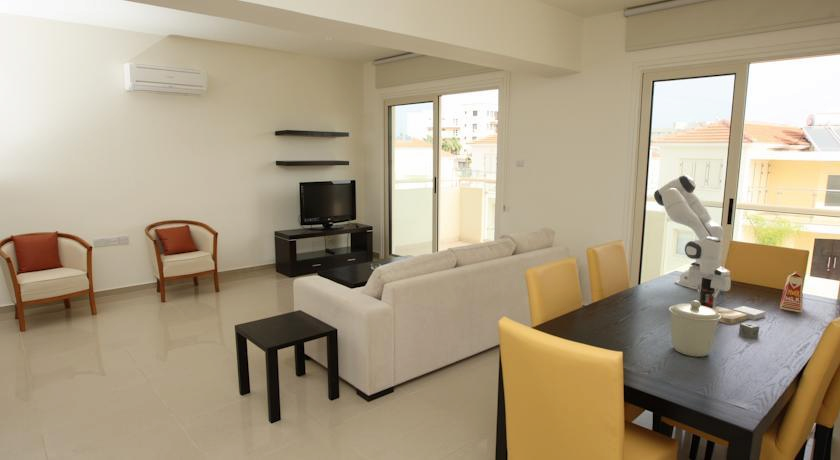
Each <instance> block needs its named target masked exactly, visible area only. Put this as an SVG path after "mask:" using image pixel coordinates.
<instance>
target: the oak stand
mask: <svg viewBox="0 0 840 460" xmlns="http://www.w3.org/2000/svg"><path fill="white" fill-rule="evenodd" d="M711 309H714V310H715V311H717V312H718V313H719V314H721V319H719V322H722V323H726V324H728V325H734V324H736V323H740V322H744V321H747V320H748V314H744V313H741V312H737V311H733V309H729V308H727V307H726V308H725V307H722V306H718V305H717V306H714V307H712V308H711Z"/></svg>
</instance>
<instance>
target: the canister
mask: <svg viewBox="0 0 840 460" xmlns="http://www.w3.org/2000/svg"><path fill="white" fill-rule="evenodd" d="M668 310H669V313H670V334H671V345H672V347H673V349H674V350H675V351H676V352H678V353H680V354H682V355H686V356H690V357H697V358H699V357H701V358H702V357H705V356H708V355H709V354H710V353H711V351H712V350H713V349H712V348H713V345H714V341H715V337H716V334H717V329H718V325H719V322H720V321H719V319H721V314H719V313H718V312H717V311H715V310H714V309H711V308H709V307H706V306H702V305H701V303H700V300H695V299H694V300H691V301H690V303H678V304H673V305H672V306H669V308H668Z"/></svg>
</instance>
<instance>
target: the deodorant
mask: <svg viewBox="0 0 840 460" xmlns="http://www.w3.org/2000/svg"><path fill="white" fill-rule="evenodd" d="M710 286H711V280H710V279H706V278H702V284H701V293H700V295H699V302H700V303H701V305H702V306H706V307H709V308H714V307H713V305H714V297H712V293H715V290H714V288H711V287H710Z"/></svg>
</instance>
